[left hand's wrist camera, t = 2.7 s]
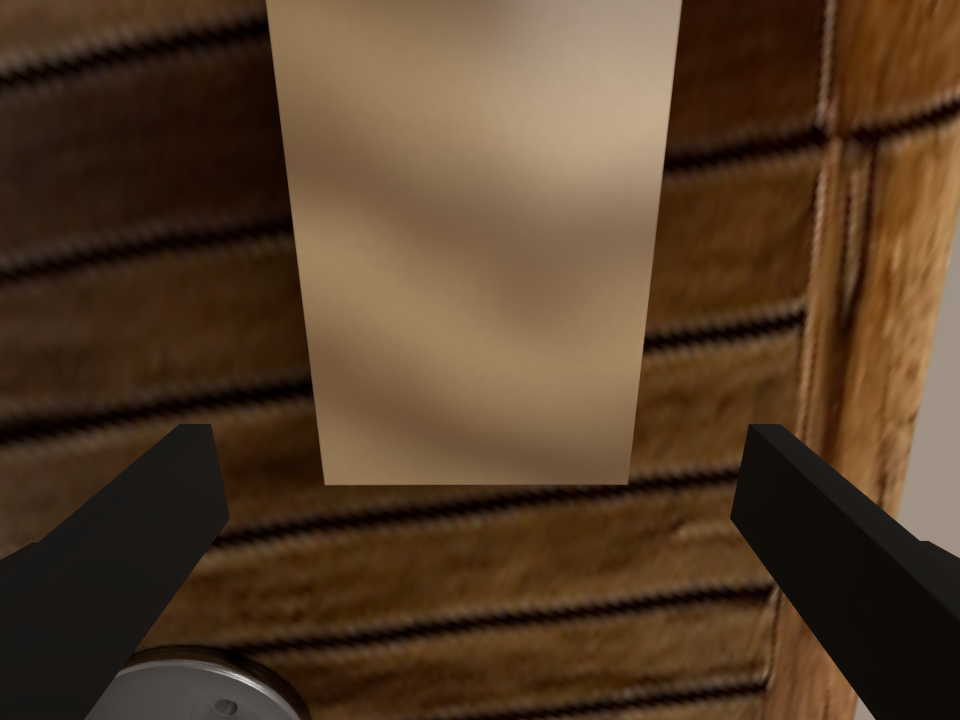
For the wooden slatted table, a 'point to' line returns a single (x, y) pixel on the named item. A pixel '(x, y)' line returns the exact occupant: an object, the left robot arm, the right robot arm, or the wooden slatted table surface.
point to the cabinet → (474, 229)
